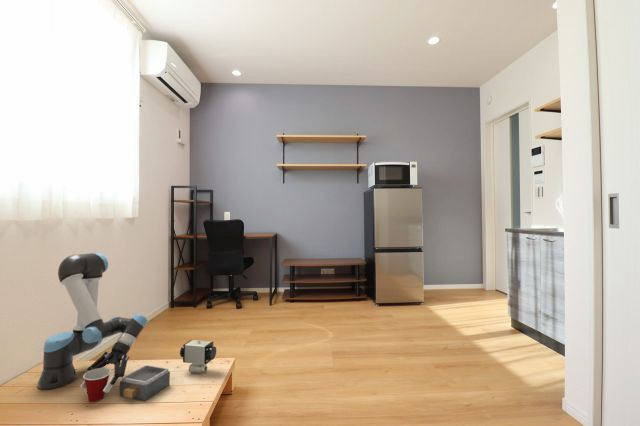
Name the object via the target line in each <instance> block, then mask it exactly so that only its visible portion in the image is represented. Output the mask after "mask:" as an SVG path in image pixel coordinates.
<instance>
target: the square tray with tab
mask: <svg viewBox="0 0 640 426" xmlns="http://www.w3.org/2000/svg"><path fill="white" fill-rule="evenodd" d="M170 377H171V371H169V368H167V367H161V366H154V365H143V366H141V367H139V368H138V369H135V370H134V371H132V372H130V373H129V374H126V375H124V376H123V377H121V380H120V381H119V397H120V398H124V399H130V400H134V401H139V402H144V403H146V402H147V401H149V400H150V399H151V398H153V397H155V396H157V395H158V394H159V393H161V392H163V391H164V390H165V389H167V388H168V387H170V384H171V382H170V380H171V378H170Z"/></svg>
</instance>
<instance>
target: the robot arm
mask: <svg viewBox="0 0 640 426" xmlns="http://www.w3.org/2000/svg"><path fill="white" fill-rule="evenodd" d="M108 269H109V262H108V258H107V257H106V256H105V255H104V254H102V253H100V252H99V253H98V252H91V253H82V254H72V255H69V256H67V257H65V258H64V259H62V261H61V262H60V264H59V266H58V269H57V276H58V277H57V278H58V280H59V282H60V285H63V286H64V287H65V289H66V291H67V293H68V296H69V297H70V299H71V301H72V304H73V306H74V308H75V310H76V312H77V315H76V316H77V317H76V324H75V326H73V328H72V331H65V332H60V333H56V334H54V335H52V336H50V337H48V338H47V339H46V340H45V341H44V345H43V346H44V347H43V366H42V371H41V373H40V377H39V379H38V381H37V389H39V388H40V389H39V390H53V389H57V388H62V387H65V386H67V385H69V384H71V383H72V382H74V381H75V380H76V379H77V372H76V369H75V366H74V363H73V362H74V361H73V360H74V357H75V356H78V355H80V354H84V353H85V352H88V351H92V350H93V349H94V348H97V347H99V346H100V345H101V343H102V341H103V340H104V339H106V338H109V337H111V336H114V335H117V334H120V336H119V337H118V338H117V340H116V342H115V343H114V344H113V346H112V348H111V351H110V352H107V351H104V353H103V354H102V355H101V356H100V357H99V358H98V359H96V360H95V361H94V362H93V363H92V364H91V365H89V367H88V368H87V371H90V370H93V369H97V368H105V367H106V366H107V365H114V372H113V373H114V374H113V375H112V376H111V377H110V378H109V379H108V381H107V385H106V386H105V388H104V390H103V391H104V392H105V393H106V394H108V393H109V392H110V391H111V389H112V388H113V386H114V385H115V384H116V383H117V380H118V379H119V378H122V377H124V376H125V373H126V369H127V363H128V361H129V359H130V356H128V353H129V351H130V350H131V348H132V347H133V346H134V344H135V341H136V340H137V339H138V337H139V336H140V334H141V332H142V331H143V329H144V328H145V326H146V324H147V323H148V318H147V317H146V316H144V315H142V314H140V313H139V314H138V313H136V314H134V315H133V316H132V318H127V317H120V316H115V317H114V316H113V317H111V318H110V319H109V320H108V321H105V322H104V320H103V319H102V316H101V314H100V312H99V311H98V299H99V298H98V297H99V286H100V285H99V284H100V280H101V279H102V278H103V273H106V271H107V270H108ZM80 388H82V389H84V390H86V384H85V380H83V381H82V383H81V384H80Z"/></svg>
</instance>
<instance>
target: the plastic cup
mask: <svg viewBox="0 0 640 426" xmlns="http://www.w3.org/2000/svg"><path fill="white" fill-rule="evenodd" d="M111 373H112V369H111V368H107V367H103V368H97V369H93V370H90V371H89V370H87V371H85V373H84V374H83V376H82V378H83V379H84V380H85V384H86V389H85V390H86V395H87V400H88V402H89V403H95V402H99V401H101V400H103V398H104V396H105V393H106V392H104V391H103V390H104V388H105V386H106V385H107V383H108V382H109V379H110V378H109V377H110V375H111ZM84 380H83V381H84Z"/></svg>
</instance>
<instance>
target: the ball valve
mask: <svg viewBox="0 0 640 426" xmlns="http://www.w3.org/2000/svg"><path fill="white" fill-rule="evenodd" d="M179 355H180V357H181V358H182V362H183V363H184V364H190V365H189V366H188V372H189V373H190V374H191V373H192V374H200V375H203V374H206V373H207V371H208V365H207V364H209V363H210V362H211V361H212V360H214V359H215V358H216V356H217V347H216V346H215V344H214V341H210V340H209V341H208V340H201V339H196V340H194V339H190V340H188V341H187V342H185V343H184V344H183V345H182V346H181V348H180V350H179Z"/></svg>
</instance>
